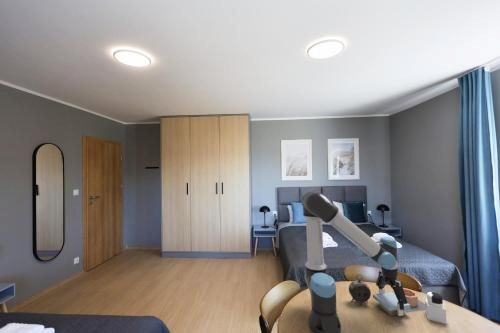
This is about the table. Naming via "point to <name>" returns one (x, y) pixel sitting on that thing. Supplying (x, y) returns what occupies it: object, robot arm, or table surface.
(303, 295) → the table surface
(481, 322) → the table surface
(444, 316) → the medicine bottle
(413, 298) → the bowl
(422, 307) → the placemat
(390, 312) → the cork riser
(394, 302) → the cover board
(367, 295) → the alarm clock
